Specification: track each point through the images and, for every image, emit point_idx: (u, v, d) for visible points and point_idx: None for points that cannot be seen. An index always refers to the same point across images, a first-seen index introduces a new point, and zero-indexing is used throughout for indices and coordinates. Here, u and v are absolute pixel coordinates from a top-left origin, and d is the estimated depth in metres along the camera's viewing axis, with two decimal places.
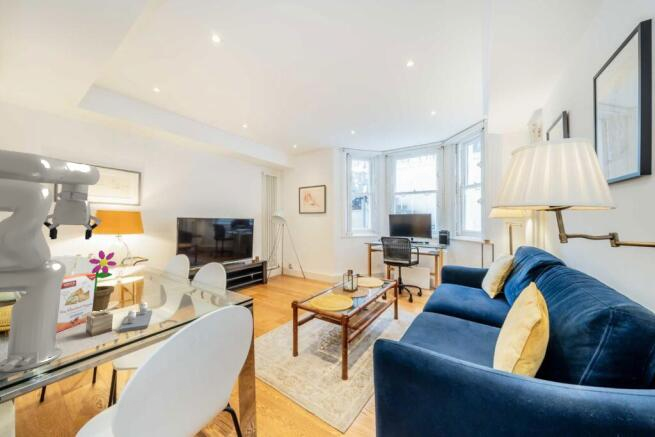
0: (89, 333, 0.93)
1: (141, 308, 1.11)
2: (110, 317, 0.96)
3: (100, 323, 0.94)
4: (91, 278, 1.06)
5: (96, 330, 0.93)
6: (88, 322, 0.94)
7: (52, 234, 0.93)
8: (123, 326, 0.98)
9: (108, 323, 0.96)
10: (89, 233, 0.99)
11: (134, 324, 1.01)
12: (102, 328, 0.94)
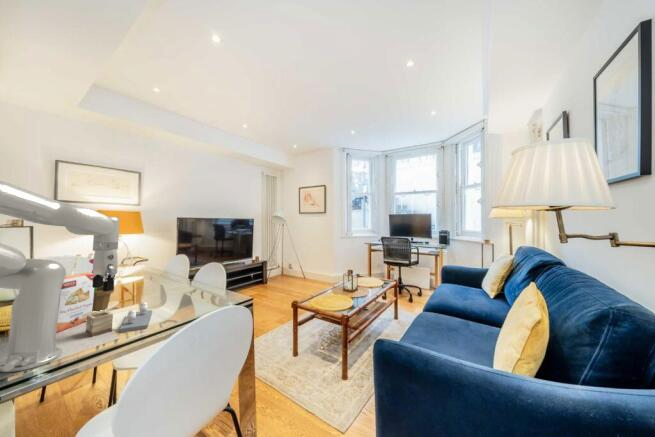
0: (89, 333, 0.93)
1: (141, 308, 1.11)
2: (110, 317, 0.96)
3: (100, 323, 0.94)
4: (91, 278, 1.06)
5: (96, 330, 0.93)
6: (88, 322, 0.94)
7: None
8: (123, 326, 0.98)
9: (108, 323, 0.96)
10: None
11: (134, 324, 1.01)
12: (102, 328, 0.94)
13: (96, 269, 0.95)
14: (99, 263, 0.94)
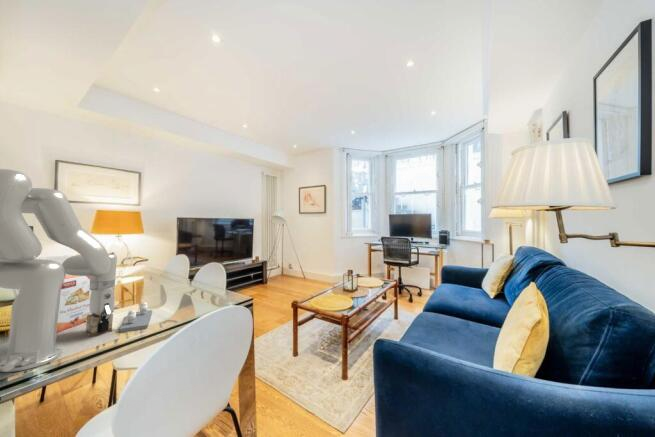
0: (89, 333, 0.93)
1: (141, 308, 1.11)
2: (110, 317, 0.96)
3: None
4: None
5: (96, 330, 0.93)
6: (88, 322, 0.94)
7: None
8: (123, 326, 0.98)
9: None
10: None
11: (134, 324, 1.01)
12: None
13: (93, 308, 0.94)
14: (96, 302, 0.93)
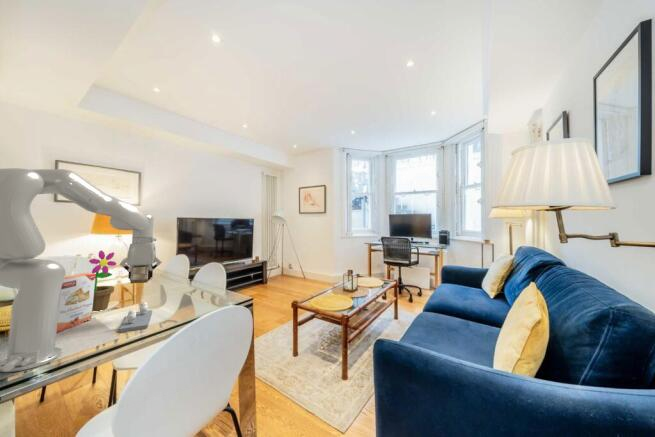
0: (140, 281, 1.08)
1: (141, 308, 1.11)
2: None
3: None
4: (91, 278, 1.06)
5: (147, 277, 1.10)
6: (136, 273, 1.07)
7: None
8: (123, 326, 0.98)
9: None
10: None
11: (134, 324, 1.01)
12: None
13: (140, 260, 1.08)
14: (146, 254, 1.09)
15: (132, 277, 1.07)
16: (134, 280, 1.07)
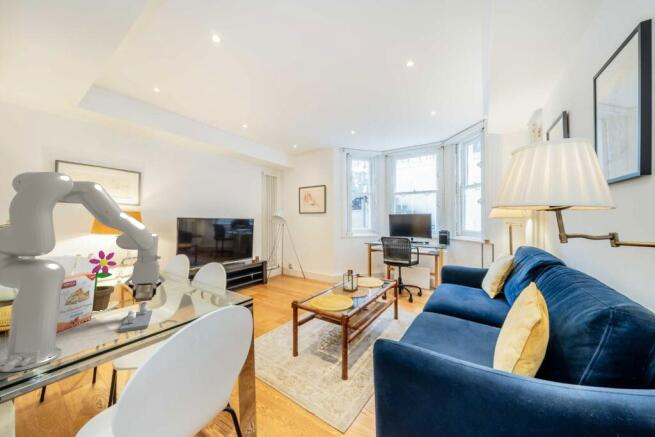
0: (145, 299, 1.10)
1: (141, 308, 1.11)
2: None
3: (152, 289, 1.13)
4: (91, 278, 1.06)
5: None
6: (141, 291, 1.09)
7: None
8: (123, 326, 0.98)
9: None
10: None
11: (134, 324, 1.01)
12: None
13: (145, 278, 1.10)
14: (151, 273, 1.12)
15: (137, 295, 1.08)
16: (139, 298, 1.09)
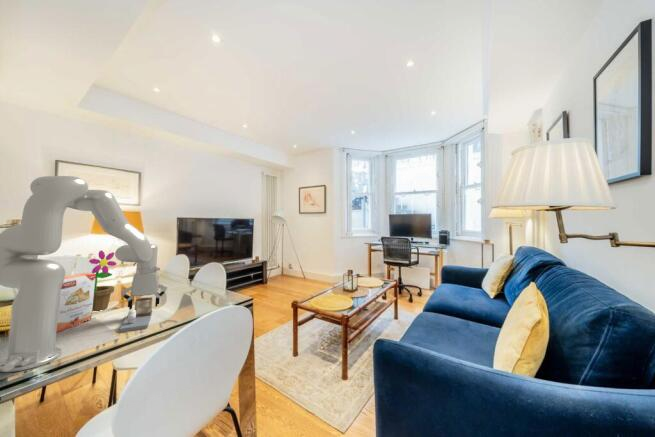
0: (143, 314, 1.09)
1: None
2: None
3: (151, 304, 1.13)
4: (91, 278, 1.06)
5: (150, 310, 1.12)
6: (139, 306, 1.09)
7: None
8: (123, 326, 0.98)
9: None
10: None
11: (134, 324, 1.01)
12: (151, 308, 1.13)
13: (144, 290, 1.10)
14: (151, 284, 1.12)
15: (136, 311, 1.08)
16: (138, 314, 1.08)
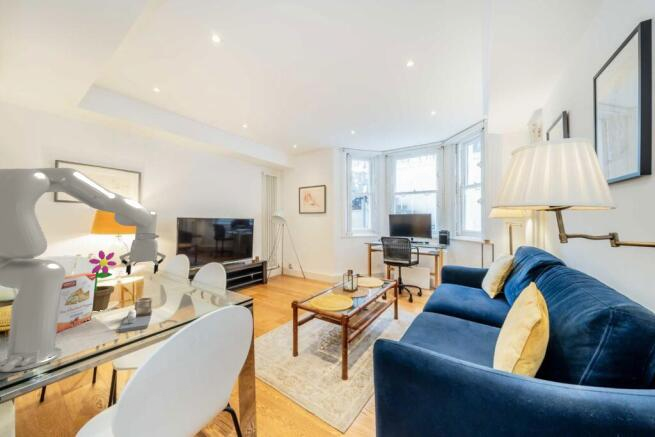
0: (143, 314, 1.09)
1: None
2: None
3: (151, 304, 1.13)
4: (91, 278, 1.06)
5: (150, 310, 1.12)
6: (139, 306, 1.09)
7: None
8: (123, 326, 0.98)
9: None
10: None
11: (134, 324, 1.01)
12: (151, 308, 1.13)
13: (143, 256, 1.10)
14: (149, 251, 1.11)
15: (136, 311, 1.08)
16: (138, 314, 1.08)
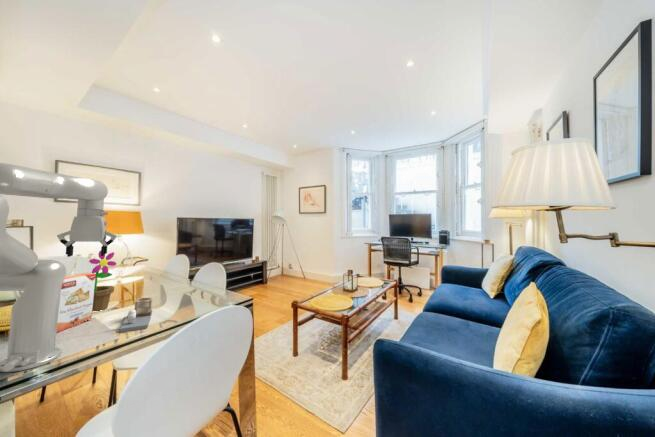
0: (143, 314, 1.09)
1: None
2: None
3: (151, 304, 1.13)
4: (91, 278, 1.06)
5: (150, 310, 1.12)
6: (139, 306, 1.09)
7: None
8: (123, 326, 0.98)
9: None
10: None
11: (134, 324, 1.01)
12: (151, 308, 1.13)
13: (86, 235, 0.95)
14: (95, 229, 0.96)
15: (136, 311, 1.08)
16: (138, 314, 1.08)
